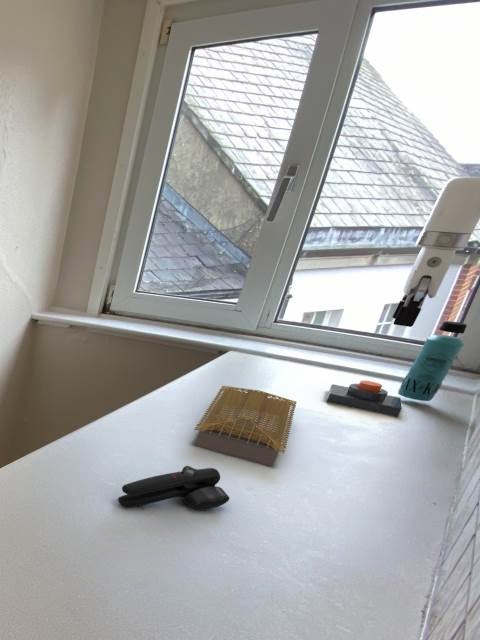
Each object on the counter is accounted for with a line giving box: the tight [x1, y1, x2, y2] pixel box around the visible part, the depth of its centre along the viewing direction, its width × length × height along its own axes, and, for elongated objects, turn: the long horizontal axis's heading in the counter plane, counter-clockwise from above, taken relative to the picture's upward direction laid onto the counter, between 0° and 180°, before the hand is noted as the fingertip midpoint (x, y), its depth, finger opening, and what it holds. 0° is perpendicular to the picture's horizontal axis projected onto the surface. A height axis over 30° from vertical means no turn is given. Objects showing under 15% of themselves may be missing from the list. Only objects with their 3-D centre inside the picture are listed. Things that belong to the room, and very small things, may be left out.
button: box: [358, 380, 383, 392], centre depth 131 cm, size 4×4×2 cm
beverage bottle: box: [397, 320, 468, 402], centre depth 131 cm, size 6×7×20 cm
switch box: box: [325, 383, 403, 418], centre depth 132 cm, size 13×10×4 cm
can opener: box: [117, 465, 230, 511], centre depth 86 cm, size 18×7×6 cm, turn 100°
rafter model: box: [193, 385, 297, 467], centre depth 114 cm, size 35×14×6 cm, turn 140°
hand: (401, 322), depth 124 cm, fingers open, 8 cm apart
